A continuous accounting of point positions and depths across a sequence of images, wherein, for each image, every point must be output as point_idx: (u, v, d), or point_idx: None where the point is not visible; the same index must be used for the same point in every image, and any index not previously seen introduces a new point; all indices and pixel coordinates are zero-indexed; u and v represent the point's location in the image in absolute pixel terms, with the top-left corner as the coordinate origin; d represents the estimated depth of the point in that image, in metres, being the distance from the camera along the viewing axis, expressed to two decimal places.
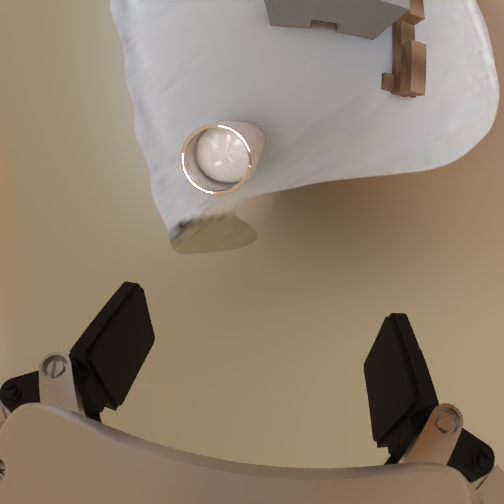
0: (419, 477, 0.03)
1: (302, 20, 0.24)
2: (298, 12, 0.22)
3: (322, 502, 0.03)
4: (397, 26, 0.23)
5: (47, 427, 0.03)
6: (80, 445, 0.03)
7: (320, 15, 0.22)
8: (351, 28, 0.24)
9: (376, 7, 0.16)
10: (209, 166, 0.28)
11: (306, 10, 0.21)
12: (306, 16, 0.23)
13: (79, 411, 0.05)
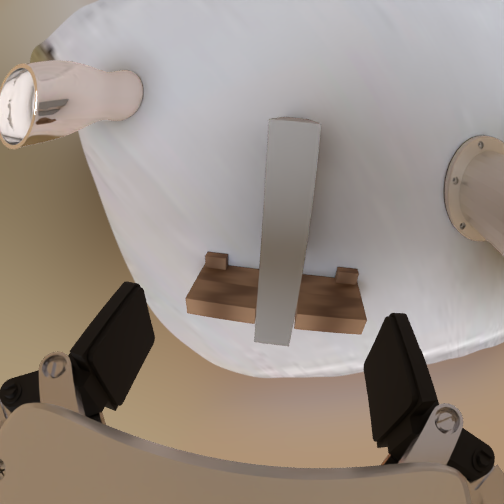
0: (419, 477, 0.03)
1: None
2: None
3: (322, 502, 0.03)
4: None
5: (47, 427, 0.03)
6: (80, 445, 0.03)
7: None
8: None
9: None
10: None
11: None
12: None
13: (79, 411, 0.05)
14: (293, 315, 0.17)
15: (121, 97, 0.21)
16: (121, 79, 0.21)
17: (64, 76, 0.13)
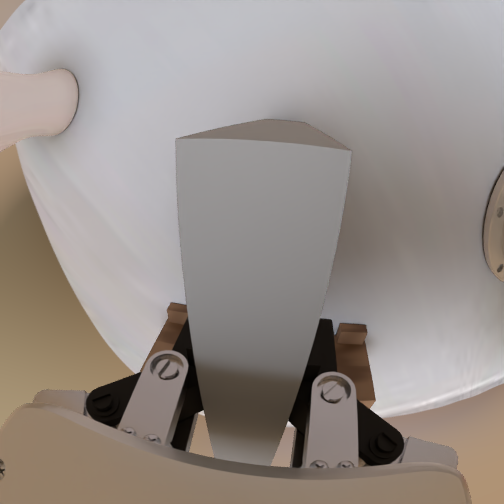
0: (419, 477, 0.03)
1: None
2: None
3: (322, 502, 0.03)
4: None
5: (47, 427, 0.03)
6: (80, 445, 0.03)
7: None
8: None
9: None
10: None
11: None
12: None
13: (170, 426, 0.05)
14: (270, 461, 0.09)
15: (44, 106, 0.13)
16: (45, 82, 0.12)
17: None
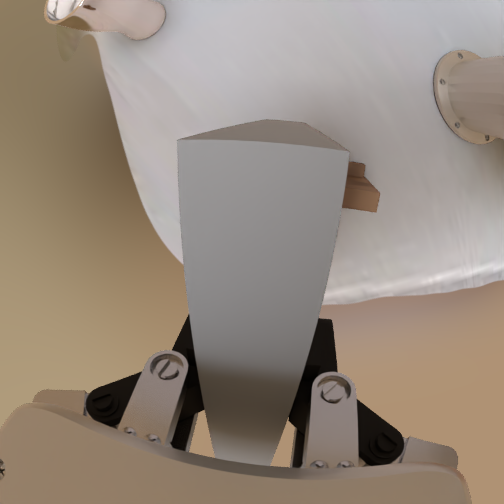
0: (419, 477, 0.03)
1: None
2: None
3: (322, 502, 0.03)
4: None
5: (46, 426, 0.03)
6: (80, 445, 0.03)
7: None
8: None
9: None
10: None
11: None
12: None
13: (170, 426, 0.05)
14: (270, 459, 0.09)
15: (148, 13, 0.20)
16: (149, 1, 0.20)
17: None
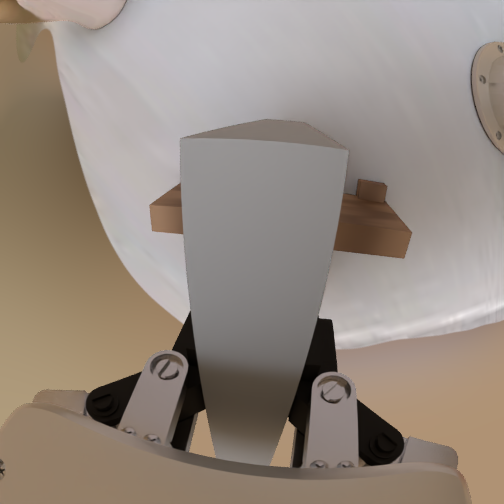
0: (419, 477, 0.03)
1: None
2: None
3: (322, 502, 0.03)
4: None
5: (46, 426, 0.03)
6: (80, 445, 0.03)
7: None
8: None
9: None
10: None
11: None
12: None
13: (170, 426, 0.05)
14: (270, 457, 0.09)
15: None
16: None
17: None
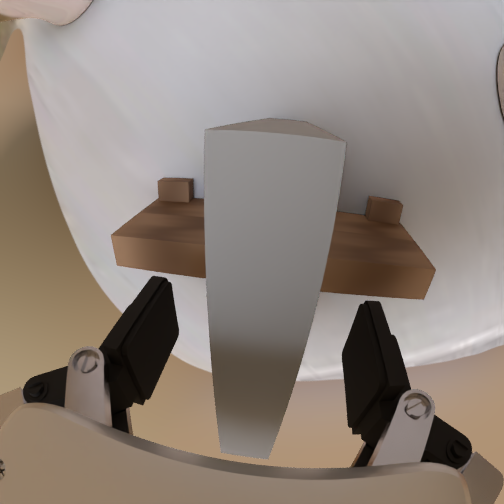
0: (419, 477, 0.03)
1: None
2: None
3: (322, 502, 0.03)
4: None
5: (47, 427, 0.03)
6: (80, 445, 0.03)
7: None
8: None
9: None
10: None
11: None
12: None
13: (105, 411, 0.05)
14: (273, 440, 0.10)
15: None
16: None
17: None
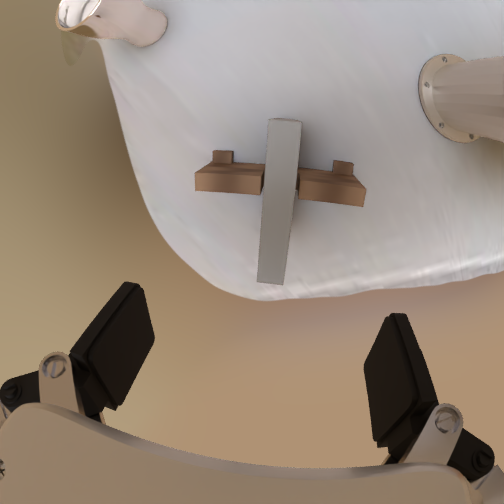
0: (419, 477, 0.03)
1: None
2: None
3: (322, 502, 0.03)
4: None
5: (46, 426, 0.03)
6: (80, 445, 0.03)
7: None
8: None
9: None
10: (93, 1, 0.15)
11: None
12: None
13: (79, 411, 0.05)
14: (286, 257, 0.23)
15: (152, 21, 0.22)
16: (152, 10, 0.22)
17: None
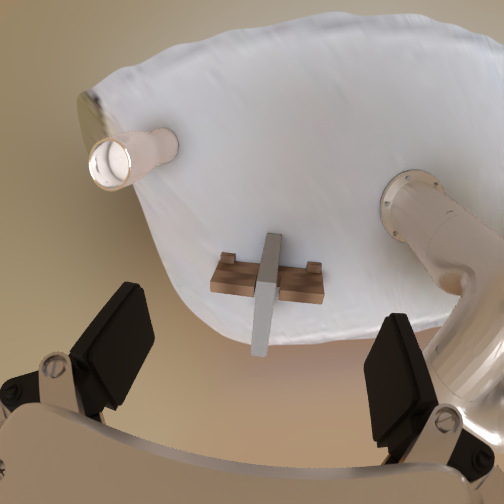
0: (419, 477, 0.03)
1: None
2: None
3: (322, 502, 0.03)
4: (278, 271, 0.47)
5: (46, 426, 0.03)
6: (80, 445, 0.03)
7: None
8: None
9: None
10: (116, 146, 0.31)
11: None
12: None
13: (79, 411, 0.05)
14: (267, 344, 0.39)
15: (166, 152, 0.38)
16: (165, 139, 0.37)
17: (141, 148, 0.29)
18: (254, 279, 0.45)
